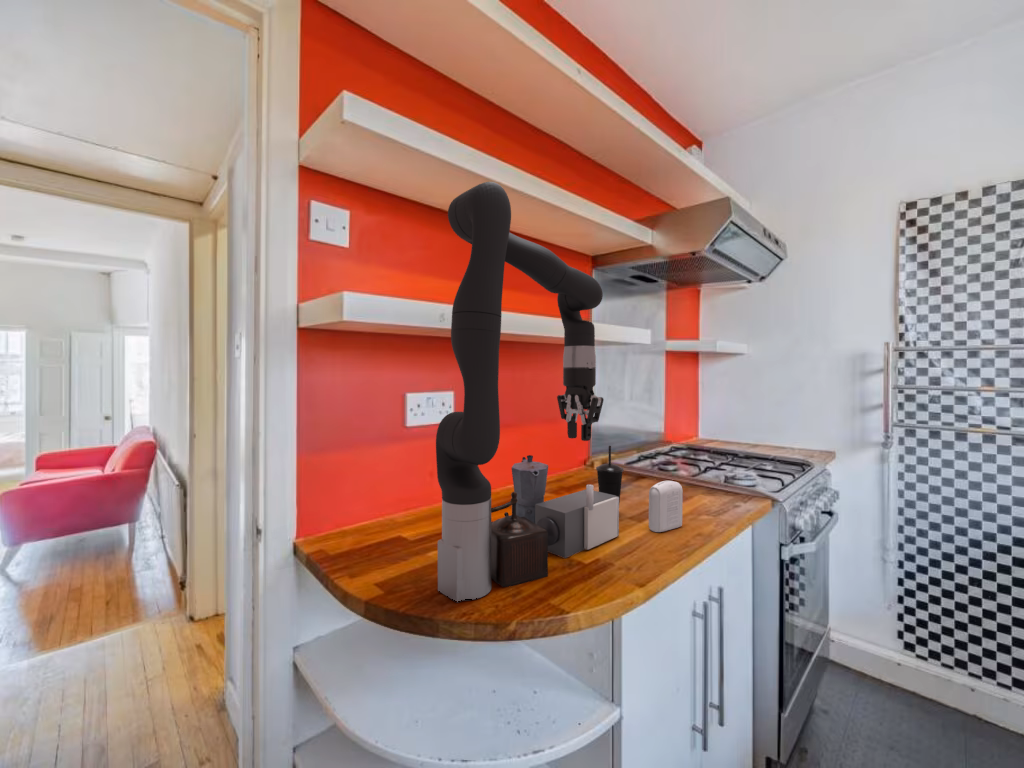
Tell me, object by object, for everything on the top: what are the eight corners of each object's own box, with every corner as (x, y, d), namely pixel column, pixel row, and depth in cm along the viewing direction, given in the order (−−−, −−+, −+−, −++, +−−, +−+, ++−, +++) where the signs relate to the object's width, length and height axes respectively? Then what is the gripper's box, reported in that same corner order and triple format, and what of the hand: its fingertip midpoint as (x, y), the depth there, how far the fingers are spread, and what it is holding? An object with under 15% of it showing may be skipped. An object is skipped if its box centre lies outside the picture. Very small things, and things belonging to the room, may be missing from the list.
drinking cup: (621, 511, 130) (621, 443, 129) (625, 520, 122) (625, 448, 122) (594, 511, 130) (595, 443, 130) (597, 519, 123) (597, 447, 122)
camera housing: (561, 560, 96) (561, 514, 96) (531, 548, 102) (531, 505, 102) (616, 535, 111) (616, 495, 110) (586, 526, 117) (587, 489, 117)
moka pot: (519, 544, 105) (519, 460, 104) (503, 523, 119) (502, 450, 119) (556, 540, 107) (556, 458, 107) (536, 520, 122) (536, 448, 122)
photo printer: (671, 522, 121) (671, 477, 120) (684, 526, 117) (685, 480, 117) (645, 529, 115) (646, 482, 115) (659, 534, 111) (659, 485, 111)
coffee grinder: (522, 556, 98) (522, 475, 98) (549, 576, 88) (549, 487, 88) (456, 571, 91) (456, 484, 90) (478, 595, 81) (477, 497, 80)
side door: (589, 550, 100) (590, 486, 100) (584, 548, 101) (584, 485, 101) (621, 535, 109) (621, 477, 109) (616, 534, 110) (616, 476, 110)
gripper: (547, 366, 107) (547, 437, 107) (588, 365, 95) (588, 444, 96) (571, 366, 111) (571, 434, 112) (613, 365, 99) (612, 441, 100)
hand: (579, 438), depth 104 cm, fingers open, 4 cm apart
